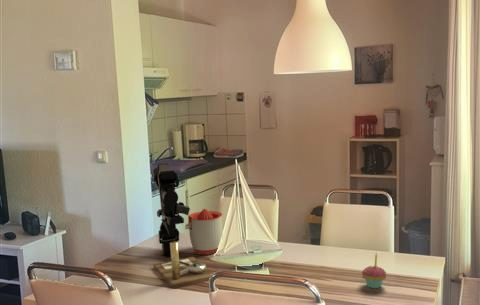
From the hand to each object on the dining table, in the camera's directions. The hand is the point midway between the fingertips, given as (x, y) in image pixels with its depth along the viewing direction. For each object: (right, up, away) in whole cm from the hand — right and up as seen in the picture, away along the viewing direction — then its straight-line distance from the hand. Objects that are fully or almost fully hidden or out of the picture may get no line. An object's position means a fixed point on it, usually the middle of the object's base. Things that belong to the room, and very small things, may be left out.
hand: (171, 236), depth 205 cm
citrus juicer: (+13, -10, +19) cm, 25 cm away
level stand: (+6, -14, -7) cm, 17 cm away
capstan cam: (+5, -12, -9) cm, 16 cm away
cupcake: (+77, -13, -30) cm, 84 cm away
